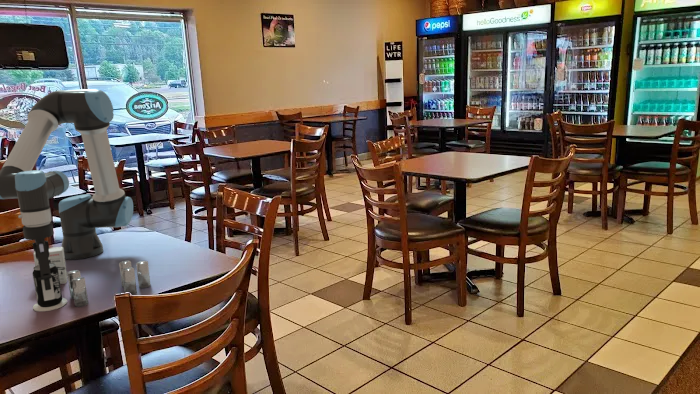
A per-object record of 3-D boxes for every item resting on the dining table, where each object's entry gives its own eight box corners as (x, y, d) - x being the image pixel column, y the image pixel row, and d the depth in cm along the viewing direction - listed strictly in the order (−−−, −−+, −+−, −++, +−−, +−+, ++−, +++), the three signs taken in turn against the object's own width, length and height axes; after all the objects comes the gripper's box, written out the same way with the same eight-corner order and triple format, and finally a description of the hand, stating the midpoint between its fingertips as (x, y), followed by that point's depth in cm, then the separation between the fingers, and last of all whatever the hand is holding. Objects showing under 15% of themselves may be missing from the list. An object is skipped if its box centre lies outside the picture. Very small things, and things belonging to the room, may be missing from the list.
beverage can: (51, 308, 152) (45, 270, 149) (32, 307, 154) (26, 269, 151) (67, 299, 158) (62, 262, 156) (49, 298, 160) (43, 261, 157)
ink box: (37, 287, 170) (32, 253, 168) (39, 282, 175) (34, 249, 172) (66, 283, 174) (61, 250, 171) (68, 278, 178) (63, 246, 176)
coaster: (32, 304, 157) (32, 302, 157) (65, 296, 162) (65, 295, 162) (33, 314, 150) (33, 312, 150) (68, 306, 155) (68, 305, 154)
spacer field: (70, 295, 163) (66, 271, 161) (146, 279, 175) (144, 257, 173) (73, 308, 153) (70, 282, 152) (154, 290, 165) (151, 266, 164)
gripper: (21, 217, 159) (32, 282, 163) (23, 235, 138) (35, 309, 143) (49, 213, 163) (59, 277, 167) (55, 230, 142) (66, 302, 147)
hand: (48, 292), depth 155 cm, fingers open, 13 cm apart
